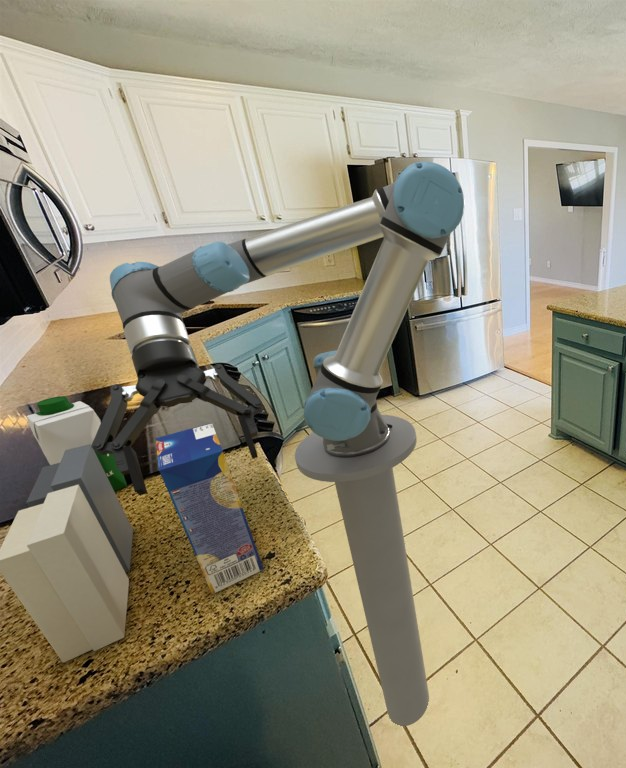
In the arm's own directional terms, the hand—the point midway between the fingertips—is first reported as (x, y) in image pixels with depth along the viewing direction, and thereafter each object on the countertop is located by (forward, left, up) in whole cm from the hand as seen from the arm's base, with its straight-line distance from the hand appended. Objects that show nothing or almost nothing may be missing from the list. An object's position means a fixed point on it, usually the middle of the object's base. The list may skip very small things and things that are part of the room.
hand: (201, 472), depth 59 cm
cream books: (+16, 0, -17) cm, 24 cm away
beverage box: (0, 0, -17) cm, 17 cm away
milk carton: (+19, -40, -17) cm, 48 cm away
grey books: (+16, -14, -17) cm, 28 cm away
